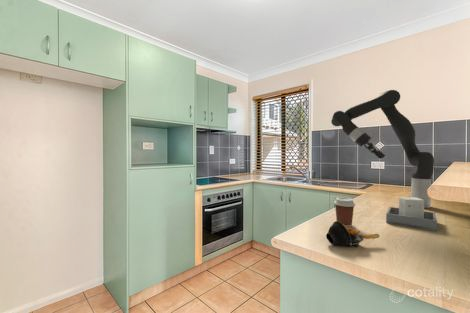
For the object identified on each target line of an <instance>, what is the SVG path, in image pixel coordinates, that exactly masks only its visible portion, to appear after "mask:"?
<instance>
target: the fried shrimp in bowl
mask: <svg viewBox="0 0 470 313" xmlns="http://www.w3.org/2000/svg"><path fill="white" fill-rule="evenodd" d="M359 233H361V231H360V230H354V229H352V228H350V227H345V225H343V224H341V223H340V222H337V220H336V221H334V222H333V223H332V225H331V226H330V227H329V229H328V230H327V233H326V235H325V237H326V239H327V241H328V242H329V243H330V244H331V245H337V246H350V247H357V246H360V243H361V242H363V241H364V239H367V240H368V239H369V240H370V239H374V240H375V239H378V238H380V235H379V234H378V233H369V234H367V233H366V234H359Z"/></svg>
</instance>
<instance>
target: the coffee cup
mask: <svg viewBox="0 0 470 313" xmlns="http://www.w3.org/2000/svg"><path fill="white" fill-rule="evenodd" d="M333 204H334V205H335V219H336V221H337V222H340V223H341V224H343V225H345V227H346V228H350V227H353V220H354V219H353V216H354V207H356V203H355V202H354V200H353V199H352V198H350V197H349V198H348V197H337V198H336V199H335V200H334V201H333Z"/></svg>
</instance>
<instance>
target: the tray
mask: <svg viewBox="0 0 470 313" xmlns="http://www.w3.org/2000/svg"><path fill="white" fill-rule="evenodd" d="M385 223H386V224H391V225H396V226H402V227H407V228H409V227H410V228H414V229H415V228H416V229H420V230H421V229H422V230H426V231H431V232H432V231H433V232H438V219H437V215H436V212H432V211H425V210H424V218H417V217H410V216H403V215H399V207H394V206H389V207H388V209H387V211H386V219H385Z"/></svg>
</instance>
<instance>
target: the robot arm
mask: <svg viewBox="0 0 470 313" xmlns="http://www.w3.org/2000/svg"><path fill="white" fill-rule="evenodd" d="M400 99H401V94H400V92H399V91H398V90H396V89H389V90H386V91H384V92H381V93H379V94H378V95H377V97H376V98H373V99H371V100H368V101H364V102H362V103H358V104H356V105H354V106H352V107H348V108H347V109H346V110H345V111H343V110H336V111H335V112H334V113H333V115H332V117H331V124H332V126H333V127H342V131H343V133H344V134H345V135H347V136H348V138H350V140H352V141H353V142H354V143H355V144H356V145H357V146H358V147H360V148H362V147H365V149H366V150H368V151H369V152H370V153H372V154H373V155H375V156H376V157H377V158H378V159H383V158H384V157H386V155H385V153H383V152H382V151H381V149H379V148H378V146H376V144H374V143H373V142H370V141H371V139H372V137H371V136H370V135H369V134H368V133H367V132H366V131H365V130H363V129H361V128H360V127H359V126H358V125H356V123H354V122H353V121H352V120H355V119H357V118H360V117H362V116H364V115H366V114H368V113H371V112H373V111H376V110H378V109H380V110H381V111H382V113H383V114H384V115H385V116H386V119H387V120H388V123H389V124H390V126H391V128H392V129H393V131H394V134H395V135H396V137H397V139H398V141H399V142H400V144H401V146H402V148H403V150H404V153H405V156H406V157H407V160H408V162H409V164H410V166H413V167H417V168H416V171H415V172H414V171H413V172H412V173H411V181H410V182H411V185H410V186H411V187H410V190H411V191H410V197H416V198H419V199H422V200H424V209H430V208H432V207H431V203H432V202H431V198H432V197H431V198H429V197H428V195H427V189H428V188H429V186H430V185H431V186H432V176H433V174H434V169H435V168H434V166H435V157H434V155H433V154H432V153H431V152H429V151H420V150H419V148H418V146H417V145H416V129H415V127H414V126H413V124H412V122H411V121H410V120H409V119H408V117H406V116H405V115H404V114H402V113H401V112H400V111H399V110H398V109H397V106H396V104H398V103H399V102H400Z"/></svg>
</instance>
